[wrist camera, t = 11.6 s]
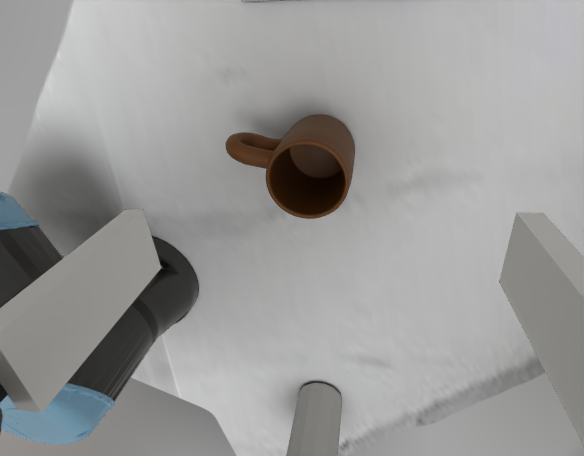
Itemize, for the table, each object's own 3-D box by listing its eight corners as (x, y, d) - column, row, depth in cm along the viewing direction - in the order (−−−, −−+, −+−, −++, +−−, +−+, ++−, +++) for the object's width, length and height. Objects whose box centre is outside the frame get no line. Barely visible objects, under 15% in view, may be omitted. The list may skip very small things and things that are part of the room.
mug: (241, 153, 41) (209, 186, 33) (257, 87, 37) (226, 106, 29) (340, 190, 41) (332, 232, 33) (367, 127, 37) (365, 157, 29)
